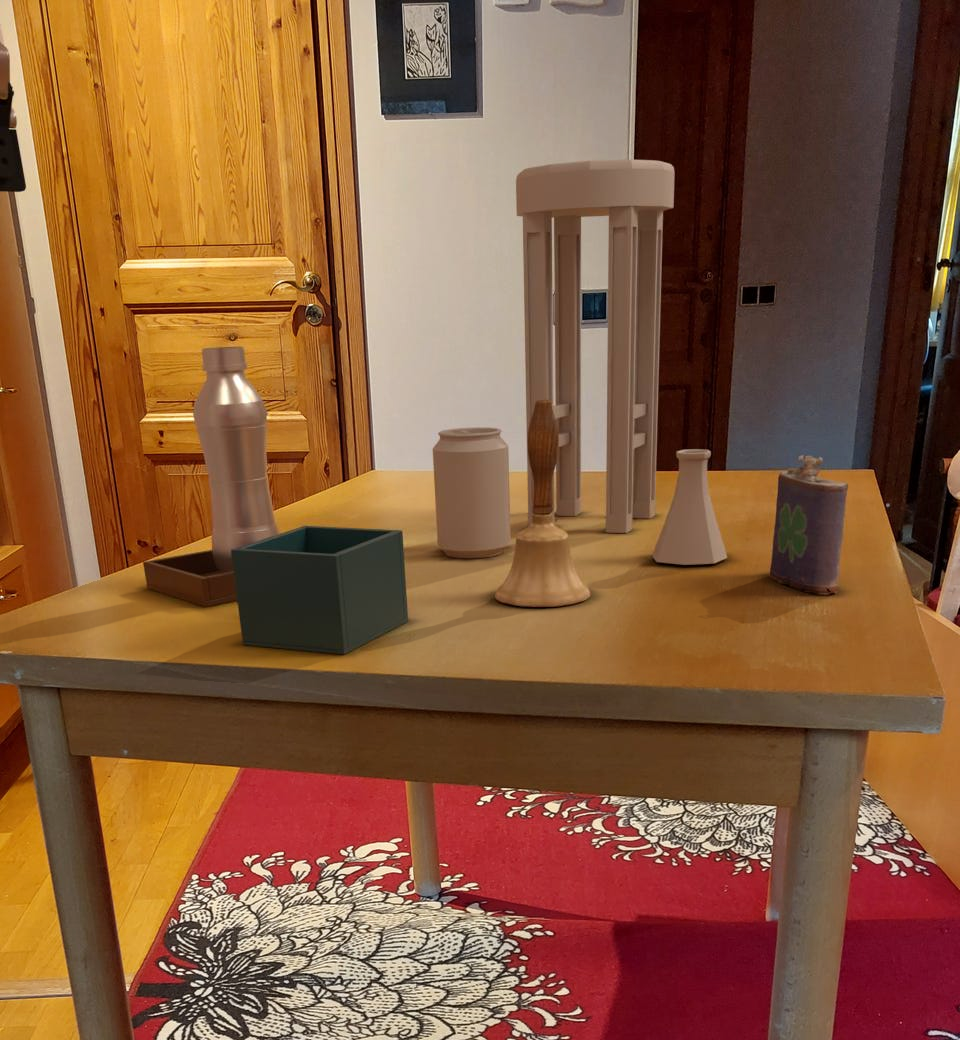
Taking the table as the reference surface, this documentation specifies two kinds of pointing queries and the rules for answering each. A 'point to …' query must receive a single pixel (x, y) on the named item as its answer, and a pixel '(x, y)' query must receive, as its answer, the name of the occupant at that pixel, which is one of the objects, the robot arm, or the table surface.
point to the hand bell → (542, 531)
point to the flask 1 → (691, 517)
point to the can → (472, 492)
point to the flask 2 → (808, 529)
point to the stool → (631, 320)
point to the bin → (321, 588)
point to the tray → (191, 579)
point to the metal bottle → (234, 454)
